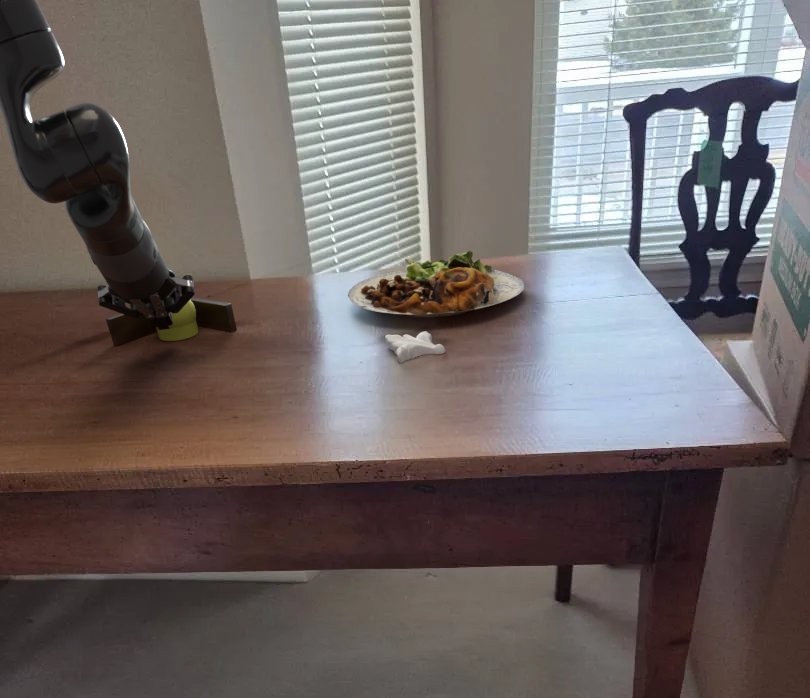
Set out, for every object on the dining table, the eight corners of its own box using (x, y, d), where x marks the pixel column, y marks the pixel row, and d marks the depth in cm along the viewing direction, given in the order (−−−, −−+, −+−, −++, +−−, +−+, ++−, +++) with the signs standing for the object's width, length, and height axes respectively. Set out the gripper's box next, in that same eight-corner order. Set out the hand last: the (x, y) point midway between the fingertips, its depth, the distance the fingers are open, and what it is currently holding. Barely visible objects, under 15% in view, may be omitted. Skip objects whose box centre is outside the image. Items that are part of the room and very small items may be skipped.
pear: (178, 343, 109) (162, 282, 104) (147, 339, 112) (131, 278, 107) (209, 330, 113) (195, 270, 108) (179, 326, 116) (164, 267, 111)
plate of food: (453, 269, 132) (452, 234, 129) (562, 298, 113) (564, 257, 109) (318, 304, 120) (313, 266, 117) (414, 343, 101) (411, 299, 97)
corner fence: (168, 357, 104) (161, 329, 101) (113, 344, 111) (105, 318, 108) (237, 329, 112) (231, 303, 110) (181, 319, 119) (175, 294, 117)
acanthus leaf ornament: (399, 364, 95) (397, 350, 94) (379, 349, 100) (377, 336, 99) (450, 351, 97) (449, 337, 96) (428, 338, 102) (427, 324, 101)
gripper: (178, 218, 89) (207, 294, 106) (66, 230, 87) (114, 305, 104) (184, 274, 87) (213, 341, 104) (71, 287, 86) (119, 353, 103)
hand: (164, 323), depth 104 cm, fingers closed
